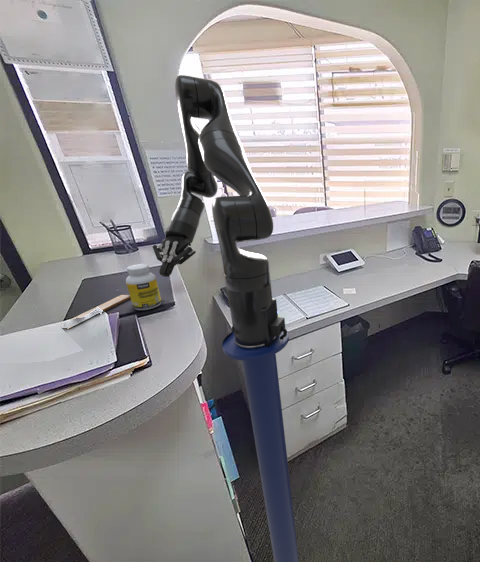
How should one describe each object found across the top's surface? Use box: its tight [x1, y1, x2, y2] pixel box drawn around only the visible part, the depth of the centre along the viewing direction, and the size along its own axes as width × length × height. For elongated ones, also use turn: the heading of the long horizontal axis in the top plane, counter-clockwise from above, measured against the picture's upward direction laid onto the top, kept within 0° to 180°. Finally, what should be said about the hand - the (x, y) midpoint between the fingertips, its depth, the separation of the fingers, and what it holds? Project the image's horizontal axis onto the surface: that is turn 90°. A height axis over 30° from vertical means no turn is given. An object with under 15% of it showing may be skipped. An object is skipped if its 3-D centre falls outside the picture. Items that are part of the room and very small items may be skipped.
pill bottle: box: [125, 263, 162, 311], centre depth 84 cm, size 6×6×12 cm
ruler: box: [69, 294, 131, 320], centre depth 82 cm, size 3×18×1 cm, turn 174°
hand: (164, 275), depth 91 cm, fingers closed
